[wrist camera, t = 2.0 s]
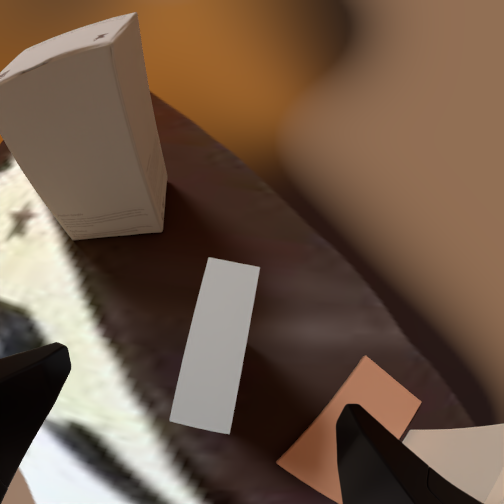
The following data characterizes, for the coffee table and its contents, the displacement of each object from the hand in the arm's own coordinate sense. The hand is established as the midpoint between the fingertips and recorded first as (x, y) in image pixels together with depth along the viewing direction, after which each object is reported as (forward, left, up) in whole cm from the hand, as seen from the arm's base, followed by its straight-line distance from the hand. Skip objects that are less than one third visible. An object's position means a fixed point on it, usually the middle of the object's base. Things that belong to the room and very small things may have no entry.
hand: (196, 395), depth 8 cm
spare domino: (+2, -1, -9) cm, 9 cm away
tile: (-3, -9, -9) cm, 13 cm away
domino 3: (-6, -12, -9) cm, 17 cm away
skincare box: (+14, +8, -9) cm, 18 cm away
